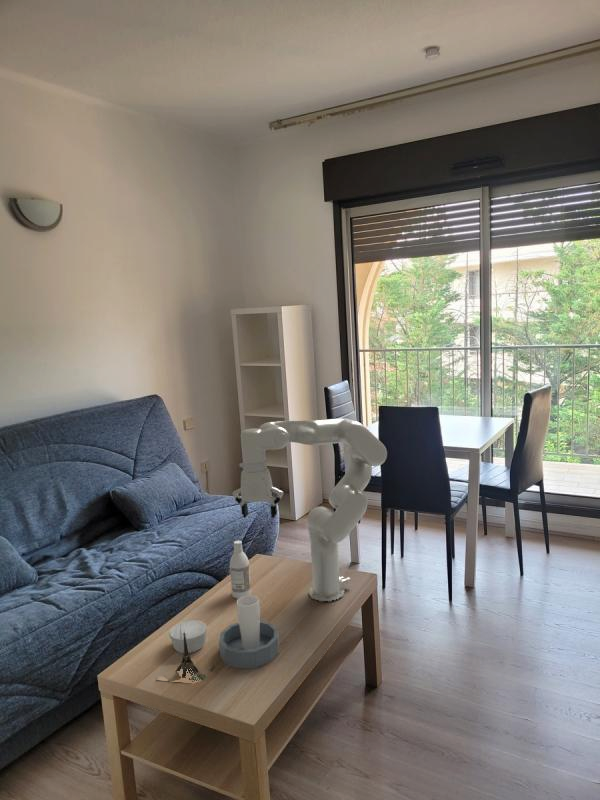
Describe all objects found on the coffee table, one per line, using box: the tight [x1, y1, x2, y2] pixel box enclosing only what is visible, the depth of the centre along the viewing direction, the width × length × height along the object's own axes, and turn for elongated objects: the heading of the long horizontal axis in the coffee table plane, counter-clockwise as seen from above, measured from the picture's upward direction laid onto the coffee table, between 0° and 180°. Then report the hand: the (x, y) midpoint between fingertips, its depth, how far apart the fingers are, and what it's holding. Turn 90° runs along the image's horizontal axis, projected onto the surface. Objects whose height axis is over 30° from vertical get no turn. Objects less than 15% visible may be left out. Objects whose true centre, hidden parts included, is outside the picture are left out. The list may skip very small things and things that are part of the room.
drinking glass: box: [236, 594, 261, 650], centre depth 173 cm, size 7×7×15 cm
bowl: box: [218, 619, 280, 670], centre depth 173 cm, size 17×17×5 cm
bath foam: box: [229, 540, 252, 600], centre depth 208 cm, size 7×7×20 cm
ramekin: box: [169, 619, 208, 654], centre depth 178 cm, size 11×11×5 cm
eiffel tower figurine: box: [175, 633, 217, 682], centre depth 164 cm, size 15×10×13 cm
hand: (259, 516), depth 192 cm, fingers open, 9 cm apart
